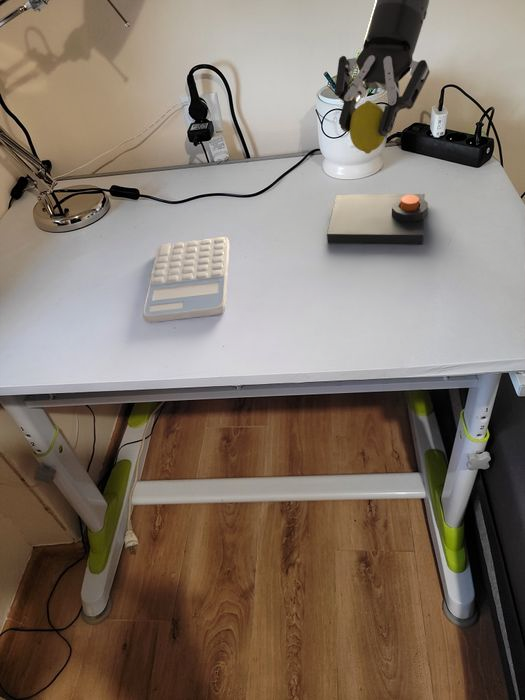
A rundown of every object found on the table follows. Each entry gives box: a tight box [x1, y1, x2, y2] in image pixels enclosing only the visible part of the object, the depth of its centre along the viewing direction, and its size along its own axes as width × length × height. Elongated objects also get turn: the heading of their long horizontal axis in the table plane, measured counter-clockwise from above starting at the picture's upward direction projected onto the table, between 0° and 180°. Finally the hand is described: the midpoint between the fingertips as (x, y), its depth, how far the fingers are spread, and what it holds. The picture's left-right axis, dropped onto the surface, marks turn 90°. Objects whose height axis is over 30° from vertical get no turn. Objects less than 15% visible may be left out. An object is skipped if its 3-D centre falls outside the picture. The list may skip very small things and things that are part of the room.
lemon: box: [349, 100, 386, 155], centre depth 78 cm, size 6×6×8 cm
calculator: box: [142, 236, 230, 323], centre depth 86 cm, size 13×20×2 cm, turn 0°
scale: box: [326, 193, 429, 245], centre depth 90 cm, size 16×13×4 cm
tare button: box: [401, 195, 419, 211], centre depth 87 cm, size 3×3×2 cm
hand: (363, 131), depth 77 cm, fingers closed on lemon, 5 cm apart
